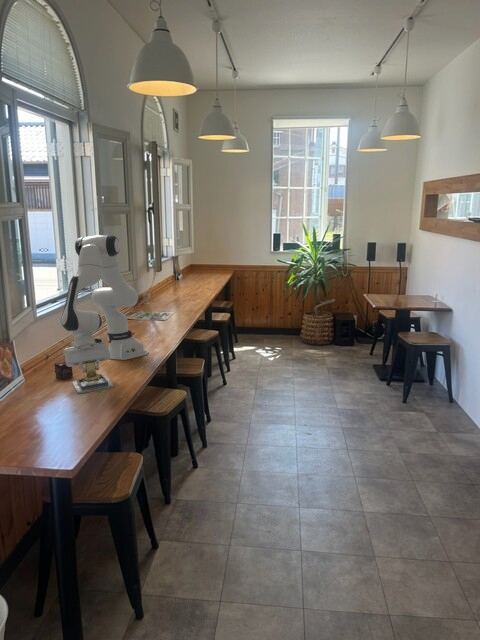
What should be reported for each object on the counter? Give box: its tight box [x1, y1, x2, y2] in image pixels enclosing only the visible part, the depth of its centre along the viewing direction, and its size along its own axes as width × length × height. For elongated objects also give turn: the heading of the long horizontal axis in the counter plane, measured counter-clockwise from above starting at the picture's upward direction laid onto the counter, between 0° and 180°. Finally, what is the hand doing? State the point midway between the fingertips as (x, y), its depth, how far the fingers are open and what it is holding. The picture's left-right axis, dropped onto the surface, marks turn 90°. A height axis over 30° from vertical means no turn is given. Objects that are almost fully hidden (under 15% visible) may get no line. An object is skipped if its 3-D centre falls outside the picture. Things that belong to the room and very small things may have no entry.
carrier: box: [71, 374, 115, 395], centre depth 227 cm, size 16×16×2 cm
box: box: [53, 360, 74, 380], centre depth 239 cm, size 6×6×7 cm
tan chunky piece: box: [81, 361, 102, 382], centre depth 225 cm, size 9×8×8 cm
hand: (91, 370), depth 225 cm, fingers closed on tan chunky piece, 4 cm apart
